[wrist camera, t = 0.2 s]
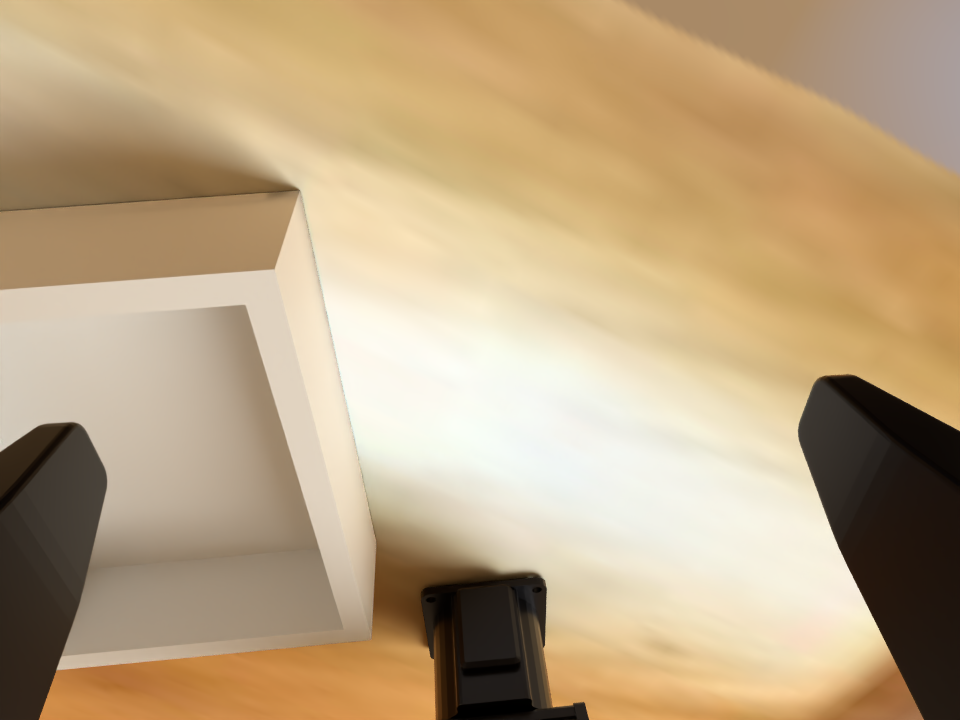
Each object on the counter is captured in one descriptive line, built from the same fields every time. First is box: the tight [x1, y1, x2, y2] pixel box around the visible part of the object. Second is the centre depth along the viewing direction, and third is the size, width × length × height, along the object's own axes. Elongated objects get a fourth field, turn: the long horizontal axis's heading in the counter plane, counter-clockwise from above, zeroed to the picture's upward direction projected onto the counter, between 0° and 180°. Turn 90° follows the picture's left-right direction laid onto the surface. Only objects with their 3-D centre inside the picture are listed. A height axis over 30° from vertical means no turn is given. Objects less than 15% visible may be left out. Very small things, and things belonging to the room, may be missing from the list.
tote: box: [0, 190, 376, 670], centre depth 25 cm, size 18×14×5 cm
